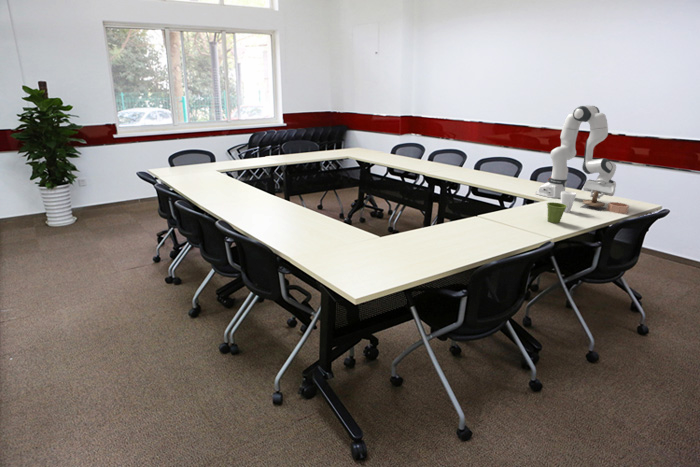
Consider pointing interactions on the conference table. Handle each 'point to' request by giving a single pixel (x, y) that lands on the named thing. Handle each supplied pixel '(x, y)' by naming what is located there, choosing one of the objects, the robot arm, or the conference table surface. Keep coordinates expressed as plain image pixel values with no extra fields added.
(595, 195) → the lid
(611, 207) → the bowl
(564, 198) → the foam cup
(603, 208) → the mat
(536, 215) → the conference table surface
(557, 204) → the plant pot
